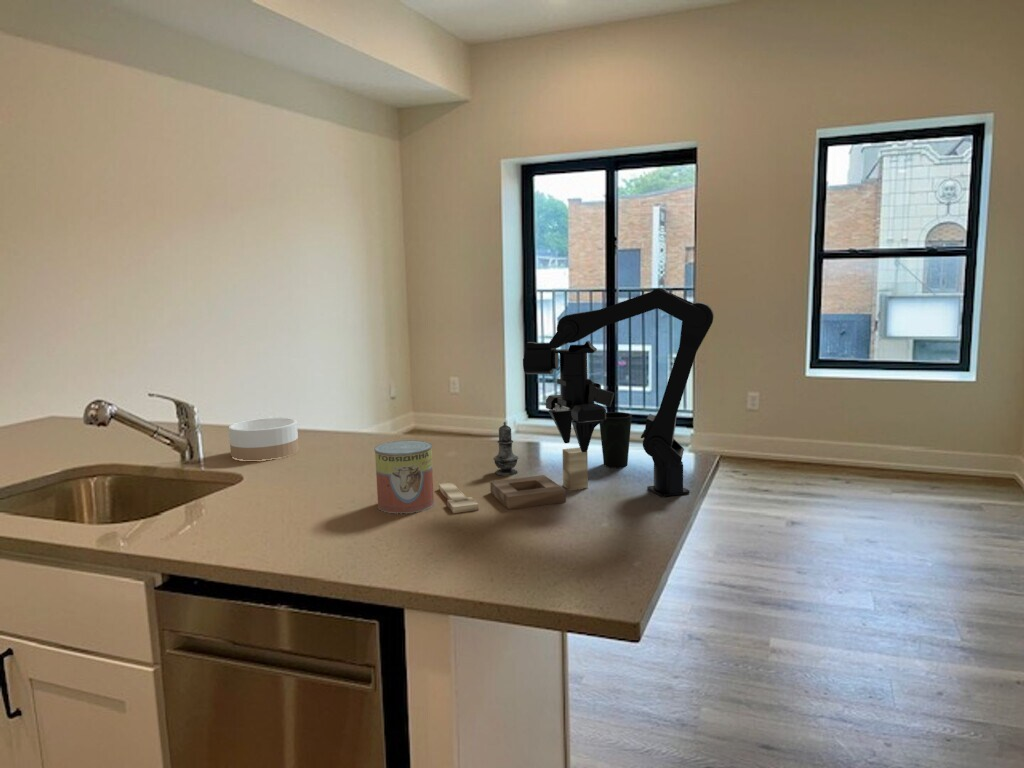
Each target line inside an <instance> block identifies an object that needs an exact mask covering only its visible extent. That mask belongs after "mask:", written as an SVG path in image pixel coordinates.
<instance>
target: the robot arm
mask: <svg viewBox="0 0 1024 768" xmlns="http://www.w3.org/2000/svg"><path fill="white" fill-rule="evenodd" d="M657 309H658V310H660V311H662V312H664V313H666V314H668V315H670V316H671V317H674V318H676V319H678V320H679V321H681V326H680V327H681V328H680V336H679V337H680V338H679V345H678V349H677V352H676V354H675V355H676V356H675V359H674V363H673V366H672V369H671V372H670V374H669V378H668V380H667V385H666V387H665V390H664V393H663V396H662V399H661V401H660V406H659V409H658V411H657V413H656V414H655V415H653V414H652V413H649V414H648V416H647V417H646V421H645V427H644V428H645V429H643V431H642V434H641V436H640V439H643V440H642V447H643V451H644V452H645V453H646V454H647V455H648V456H650V458H651V459H652V462H653V485H648V486H647V490H649V491H651V492H653V493H655V494H656V495H658V496H661V497H671V496H678V495H685V494H690V493H691V490H689V489H687V488H685V487H684V464H683V461H682V460H683V459H682V458H683V455H684V452H685V451H684V450H685V449H684V447H683V446H682V445H681V444H680V443H679V442H678V441H676V439H675V434H676V433H675V431H676V422H677V414H678V411H679V407H680V405H681V401H682V398H683V395H684V391H685V389H686V386H687V383H688V380H689V377H690V375H691V374H690V373H691V371H692V367H693V364H694V362H695V358H696V355H697V352H698V351H699V348H700V346H701V345H702V343H703V341H704V340H705V337H706V336H707V334H708V332H709V330H710V329H711V326H712V324H713V321H714V318H715V317H714V311H713V309H712V306H710V305H709V304H708V303H706V302H701V301H697V302H691V301H689V300H687V299H685V298H683V297H680V296H678V295H676V294H674V293H672V292H669V291H668V290H667V289H665V288H663V287H658V288H654V289H652V290H650V291H649V292H647V293H643V294H640V295H637V296H634V297H632V298H629V299H626V300H623V301H619V302H617V303H615V304H612V305H608V306H605V307H603V308H601V309H595V310H594V309H593V310H589V311H588V310H587V311H582V312H576V313H575V312H574V313H570V314H567V315H563V316H562V317H561V318H560V319H559V320H558V322H557V323H556V324H557V325H556V332H555V333H554V335H553V337H552V338H551V339H550V341H549V342H536V341H528V342H526V343H525V349H524V352H523V353H524V355H523V359H522V367H523V368H522V369H523V371H524V373H525V374H526V375H553V373H554V371H555V370H558V369H559V378H556V384H558V385H560V394H551V395H548V396H547V398H546V399H545V408H546V409H547V410H548V413H549V414H550V416H551V419H552V420H553V423H554V424H555V426H556V428H557V430H558V432H559V434H560V437H561V438H562V441H563V443H564V444H570V443H571V442H570V441H571V435H572V434H571V433H572V428H573V430H574V434H575V437H576V440H577V443H578V445H579V447H580V449H581V451H582V452H587V453H588V449H589V445H590V442H591V440H592V437H593V434H594V431H595V430H594V429H595V428H596V427H597V426H598V425H600V423H602V422H603V420H605V419H606V413H607V409H606V408H605V407H608V408H610V407H611V406H612V402H613V400H614V396H615V392H612V391H609V390H605V389H602V386H601V383H597V382H595V381H594V382H593V380H592V379H591V378H588V377H589V376H588V375H589V374H588V373H589V372H588V354H594V353H596V352H597V350H598V349H597V348H596V347H595V346H594V345H593V344H592V343H591V341H590V340H586V342H584V344H573V343H576V342H578V341H581V340H583V339H584V338H587V337H589V336H590V335H592V334H594V333H596V332H597V331H599V330H601V329H603V328H604V327H606V326H610V325H613V324H615V323H618V322H622V321H625V320H627V319H630V318H633V317H636V316H638V315H642V314H645V313H647V312H650V311H653V310H657ZM567 344H569V346H568V348H566V349H562V347H563V346H566V345H567ZM559 348H561V349H559ZM604 406H605V407H604Z"/></svg>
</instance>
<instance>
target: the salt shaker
mask: <svg viewBox="0 0 1024 768" xmlns="http://www.w3.org/2000/svg"><path fill="white" fill-rule="evenodd" d="M513 442H514V440H512V428H511V427H510V426H509V425H507V423H506V421H504V422H503V424H502V426H500V427H499V428H498V441H497V443H498V453H497V455H495V456H494V457H493V458H492V459H493V461H494V464H495V466H496V468H498V469H497V470H496V471H495V472H494V474H495V475H496V474H497V476H500V475H501V476H502V477H508V476H507V475H510V476H515V475H517V474H518V470H516V469H515V467H516V466H517V463H518V459H519V455H516V454H514V452H513ZM514 474H515V475H514ZM501 476H500V477H501Z"/></svg>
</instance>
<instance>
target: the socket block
mask: <svg viewBox="0 0 1024 768" xmlns="http://www.w3.org/2000/svg"><path fill="white" fill-rule="evenodd" d="M489 483H490V494H491V495H492V496H493V497H494V498H496V499H497V500H498V501H499V502H500V503H501V504H502V505H503V506H504V507H505V508H507V510H515V509H521V508H530V507H531V508H532V507H538V506H544V505H545V506H546V505H552V504H560V503H561V504H562V503H566V502H567V498H566V497H567V496H566V494H567V493H566V492H567V491H566V489H565V487H562V486H561V485H560V484H558V483H556V482H555V481H553V480H552V479H550V478H549V477H547V476H546V475H545V474H540V475H534V476H532V475H531V476H523V477H517V478H516V477H515V478H508V479H499V480H490V481H489Z"/></svg>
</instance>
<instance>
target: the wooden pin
mask: <svg viewBox="0 0 1024 768" xmlns="http://www.w3.org/2000/svg"><path fill="white" fill-rule="evenodd" d="M588 461H589V460H588V451H587V452H582V451H581V449H580V446H579V447H573V448H562V486H563V487H564V488H566V489H568V490H569V491H575V490H576V491H577V489H578V490H584V489H583V488H586V489H589V478H588V477H589V474H588V473H589V471H588V469H589V468H588V467H589V464H588Z"/></svg>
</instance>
